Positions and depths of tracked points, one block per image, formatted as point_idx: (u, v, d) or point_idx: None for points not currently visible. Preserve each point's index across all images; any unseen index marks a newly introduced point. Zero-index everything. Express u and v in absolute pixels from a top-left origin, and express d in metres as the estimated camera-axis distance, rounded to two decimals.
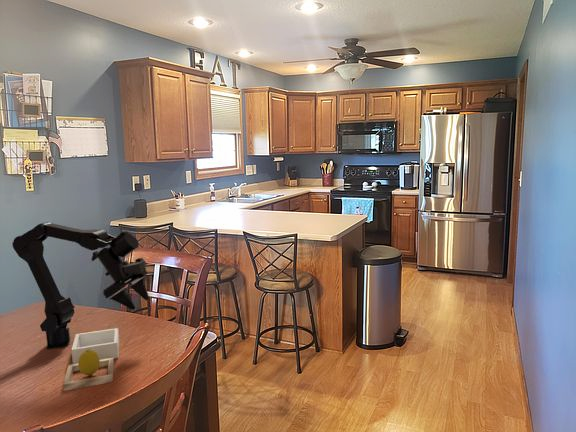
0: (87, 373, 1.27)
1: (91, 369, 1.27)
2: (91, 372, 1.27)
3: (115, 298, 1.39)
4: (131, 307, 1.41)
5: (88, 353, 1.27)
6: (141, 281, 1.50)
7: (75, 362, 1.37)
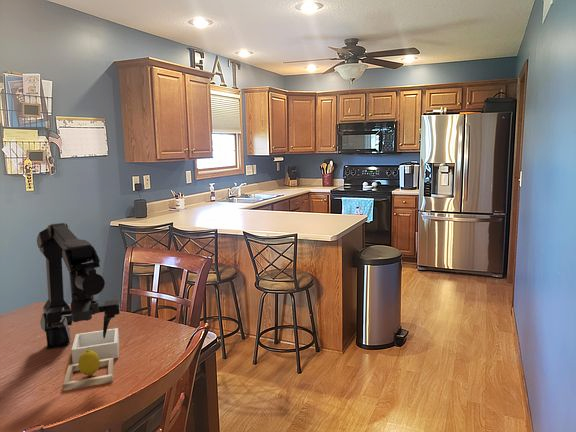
0: (87, 373, 1.27)
1: (91, 369, 1.27)
2: (91, 372, 1.27)
3: None
4: None
5: (88, 353, 1.27)
6: None
7: (75, 362, 1.37)
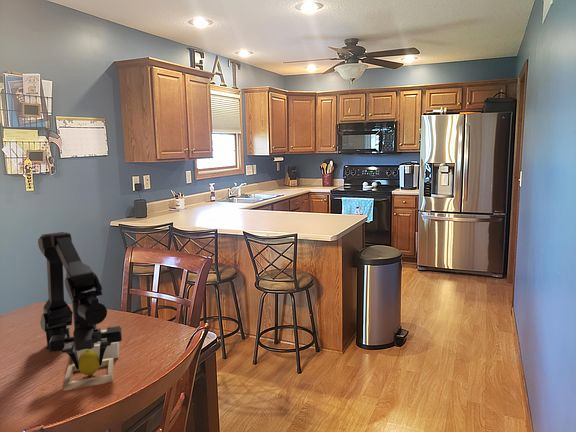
0: (87, 373, 1.27)
1: (91, 369, 1.27)
2: (91, 372, 1.27)
3: None
4: None
5: (88, 353, 1.27)
6: None
7: None
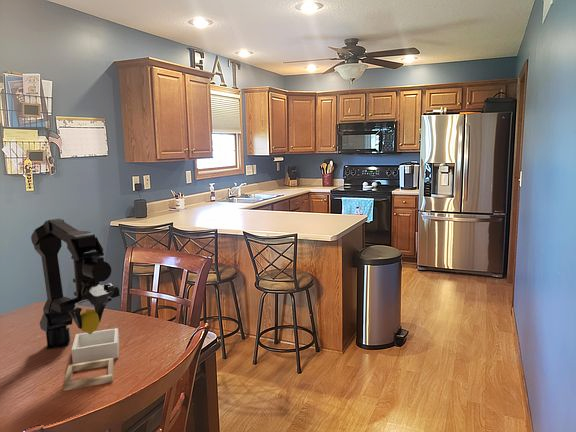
0: (92, 330, 1.34)
1: (96, 325, 1.34)
2: (95, 328, 1.35)
3: None
4: (78, 325, 1.33)
5: (91, 311, 1.34)
6: (101, 303, 1.36)
7: (75, 362, 1.37)
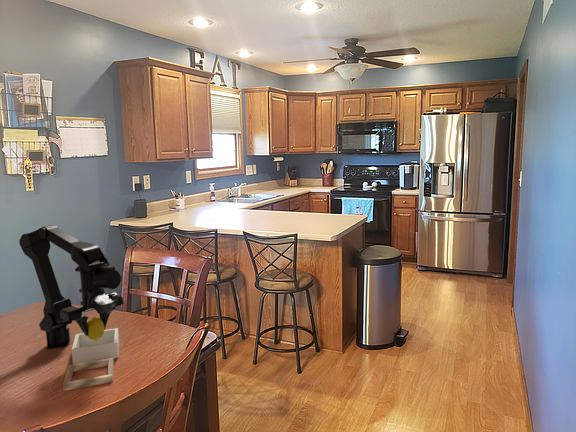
0: (98, 337, 1.42)
1: (102, 332, 1.43)
2: (101, 335, 1.43)
3: None
4: (84, 333, 1.41)
5: (96, 319, 1.43)
6: (106, 311, 1.45)
7: (75, 362, 1.37)
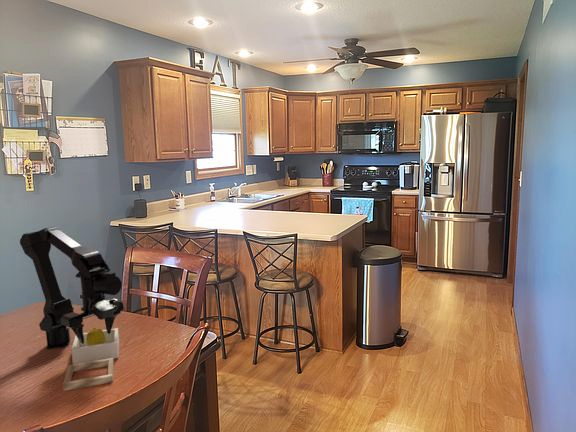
0: None
1: (103, 343, 1.43)
2: None
3: None
4: (80, 341, 1.40)
5: (97, 329, 1.43)
6: None
7: (75, 362, 1.37)
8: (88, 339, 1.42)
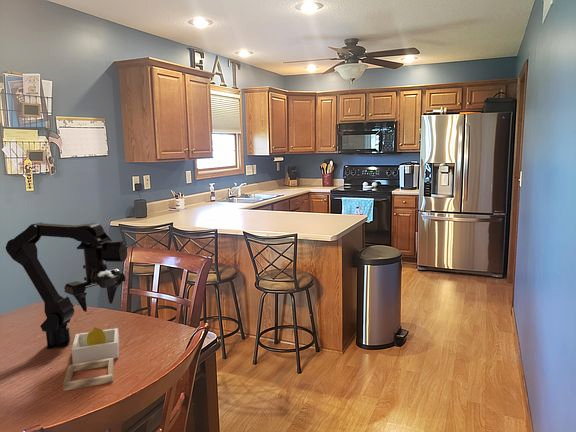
0: None
1: (103, 343, 1.43)
2: None
3: None
4: (83, 309, 1.45)
5: (97, 329, 1.43)
6: (113, 286, 1.52)
7: (75, 362, 1.37)
8: (88, 339, 1.42)
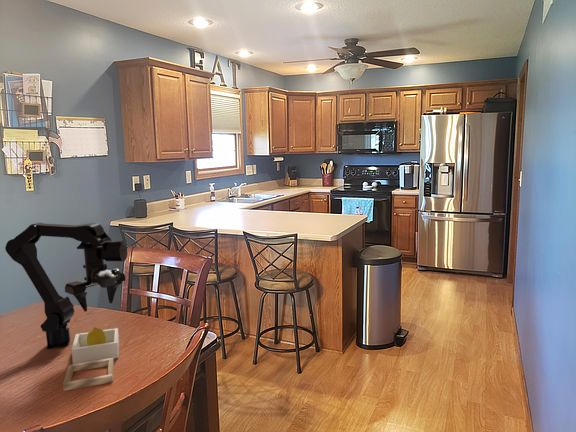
0: None
1: (103, 343, 1.43)
2: None
3: None
4: (83, 308, 1.46)
5: (97, 329, 1.43)
6: (113, 285, 1.52)
7: (75, 362, 1.37)
8: (88, 339, 1.42)
